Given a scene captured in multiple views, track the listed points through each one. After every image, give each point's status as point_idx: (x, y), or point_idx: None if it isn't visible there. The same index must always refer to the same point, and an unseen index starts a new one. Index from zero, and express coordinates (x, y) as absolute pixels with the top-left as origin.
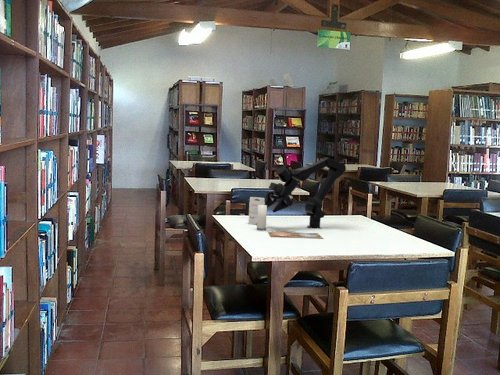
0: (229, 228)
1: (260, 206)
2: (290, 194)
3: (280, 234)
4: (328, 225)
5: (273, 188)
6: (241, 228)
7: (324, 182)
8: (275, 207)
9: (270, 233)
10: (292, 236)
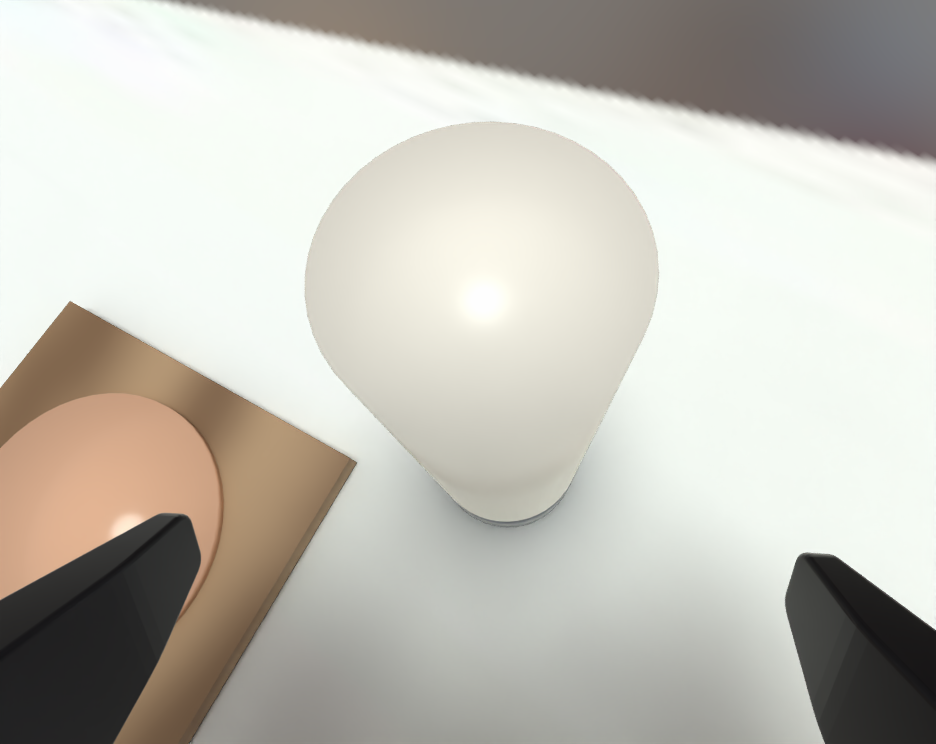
0: (809, 163)
1: (405, 157)
2: None
3: (65, 483)
4: None
5: None
6: (782, 305)
7: None
8: (16, 601)
9: (229, 423)
10: None
